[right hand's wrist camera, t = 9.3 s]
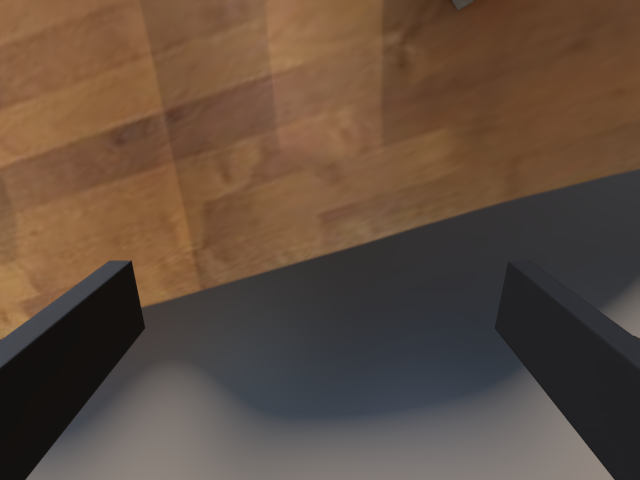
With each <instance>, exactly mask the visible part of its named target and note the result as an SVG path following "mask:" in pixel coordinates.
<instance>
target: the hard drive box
mask: <svg viewBox="0 0 640 480" xmlns="http://www.w3.org/2000/svg"><path fill="white" fill-rule="evenodd" d="M473 1H474V0H452V2H453V3H454V5H455V7H456V8H457V10H460V9H462V8H464V7H465V6H467V5H468V4H470V3H471V2H473Z"/></svg>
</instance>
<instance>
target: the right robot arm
mask: <svg viewBox="0 0 640 480" xmlns="http://www.w3.org/2000/svg"><path fill="white" fill-rule="evenodd" d="M144 329H145V325H144V320H143V315H142V310H141V305H140V300H139V295H138V290H137V285H136V280H135V276H134V271H133V266H132V261H109V262H107V263H106V264H104V265H103V266H102V267H100V268H99V269H98V270H96V271H95V272H94V273H92V274H91V275H89V276H88V277H87V278H85V279H84V280H83V281H81V282H80V283H78V284H77V285H76V286H74V287H73V288H72V289H70V290H69V291H68V292H66V293H65V294H63V295H62V296H61V297H59V298H58V299H57V300H55V301H54V302H53V303H51V304H50V305H48V306H47V307H46V308H44V309H43V310H42V311H40V312H39V313H37V314H36V315H35V316H33V317H32V318H31V319H29V320H28V321H27V322H25V323H24V324H22V325H21V326H20V327H18V328H17V329H16V330H14V331H13V332H12V333H10V334H9V335H7V336H6V337H5V338H3V339H1V340H0V480H25V479H26V478H27V477H28V476H29V474H30V473H31V472H32V471H33V469H34V468H35V467H36V466H37V464H38V463H39V462H40V460H41V459H42V458H43V457H44V455H45V454H46V453H47V452H48V450H49V449H50V448H51V447H52V445H53V444H54V443H55V442H56V440H57V439H58V438H59V436H60V435H61V434H62V433H63V431H64V430H65V429H66V428H67V426H68V425H69V424H70V423H71V421H72V420H73V419H74V417H75V416H76V415H77V414H78V412H79V411H80V410H81V409H82V407H83V406H84V405H85V404H86V402H87V401H88V400H89V398H90V397H91V396H92V395H93V393H94V392H95V391H96V390H97V388H98V387H99V386H100V385H101V383H102V382H103V381H104V380H105V378H106V377H107V376H108V374H109V373H110V372H111V371H112V369H113V368H114V367H115V366H116V364H117V363H118V362H119V361H120V359H121V358H122V357H123V355H124V354H125V353H126V352H127V350H128V349H129V348H130V347H131V345H132V344H133V343H134V342H135V340H136V339H137V338H138V336H139V335H140V334H141V333H142V331H143V330H144ZM495 329H496V330H497V331H498V333H499V334H500V335H501V336H502V338H503V339H504V340H505V342H506V343H507V344H508V345H509V347H510V348H511V349H512V350H513V352H514V353H515V354H516V355H517V357H518V358H519V359H520V361H521V362H522V363H523V364H524V366H525V367H526V368H527V369H528V371H529V372H530V373H531V374H532V376H533V377H534V378H535V379H536V381H537V382H538V383H539V385H540V386H541V387H542V388H543V390H544V391H545V392H546V393H547V395H548V396H549V397H550V398H551V400H552V401H553V402H554V404H555V405H556V406H557V407H558V409H559V410H560V411H561V412H562V414H563V415H564V416H565V417H566V419H567V420H568V421H569V423H570V424H571V425H572V426H573V428H574V429H575V430H576V431H577V433H578V434H579V435H580V436H581V438H582V439H583V440H584V442H585V443H586V444H587V445H588V447H589V448H590V449H591V450H592V452H593V453H594V454H595V455H596V457H597V458H598V459H599V460H600V462H601V463H602V464H603V466H604V467H605V468H606V469H607V471H608V472H609V473H610V474H611V476H612V477H613V478H614V479H615V480H640V338H638V337H636V336H633V335H631V334H630V333H628V332H627V331H626V330H624V329H623V328H622V327H620V326H619V325H618V324H616V323H615V322H613V321H612V320H611V319H609V318H608V317H607V316H605V315H604V314H602V313H601V312H600V311H598V310H597V309H596V308H594V307H593V306H592V305H590V304H589V303H587V302H586V301H585V300H583V299H582V298H581V297H579V296H578V295H576V294H575V293H574V292H572V291H571V290H570V289H568V288H567V287H566V286H564V285H563V284H562V283H560V282H559V281H557V280H556V279H555V278H553V277H552V276H550V275H549V274H548V273H546V272H545V271H544V270H542V269H541V268H540V267H538V266H537V265H536V264H534V263H533V262H531V261H508V266H507V271H506V276H505V280H504V285H503V290H502V295H501V300H500V305H499V310H498V315H497V320H496V325H495Z"/></svg>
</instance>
